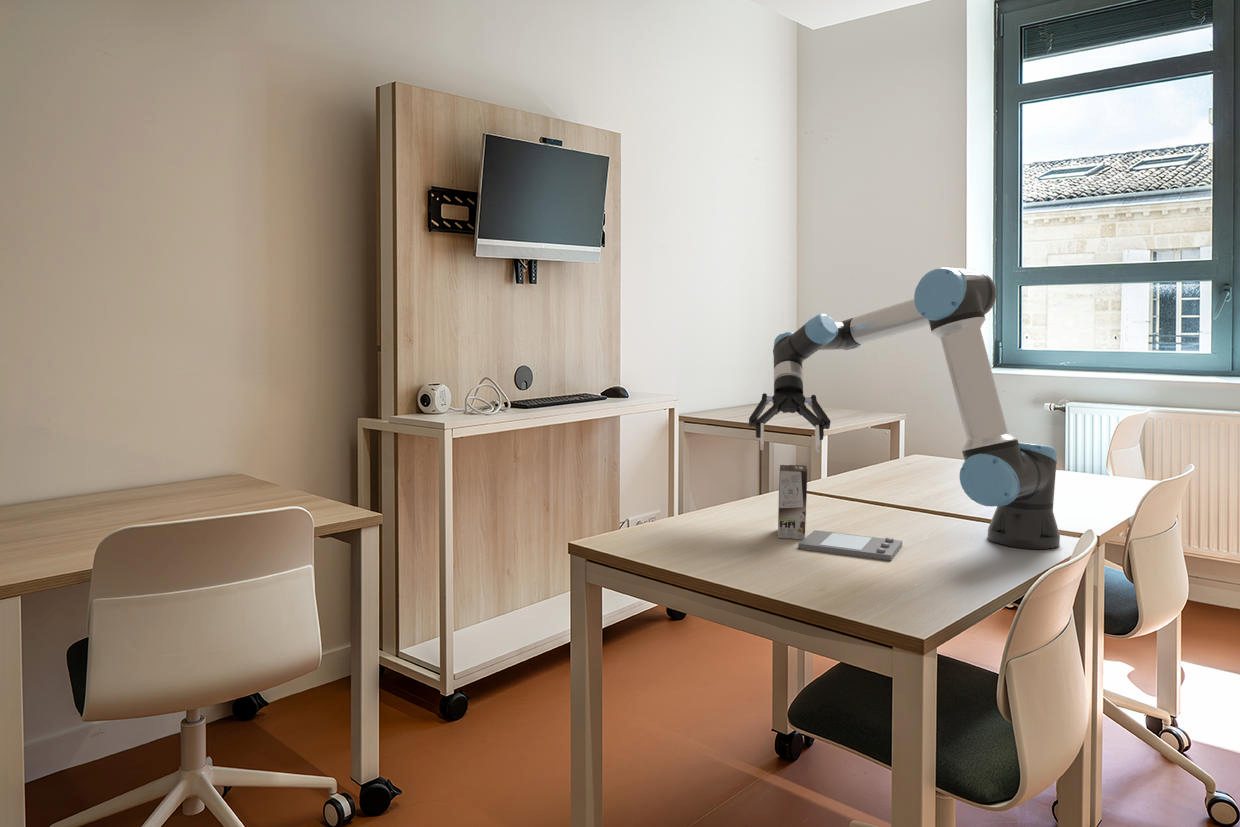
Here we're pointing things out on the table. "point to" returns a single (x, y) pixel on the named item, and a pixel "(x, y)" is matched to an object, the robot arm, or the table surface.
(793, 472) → the coffee box
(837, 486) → the table surface
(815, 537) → the control panel
